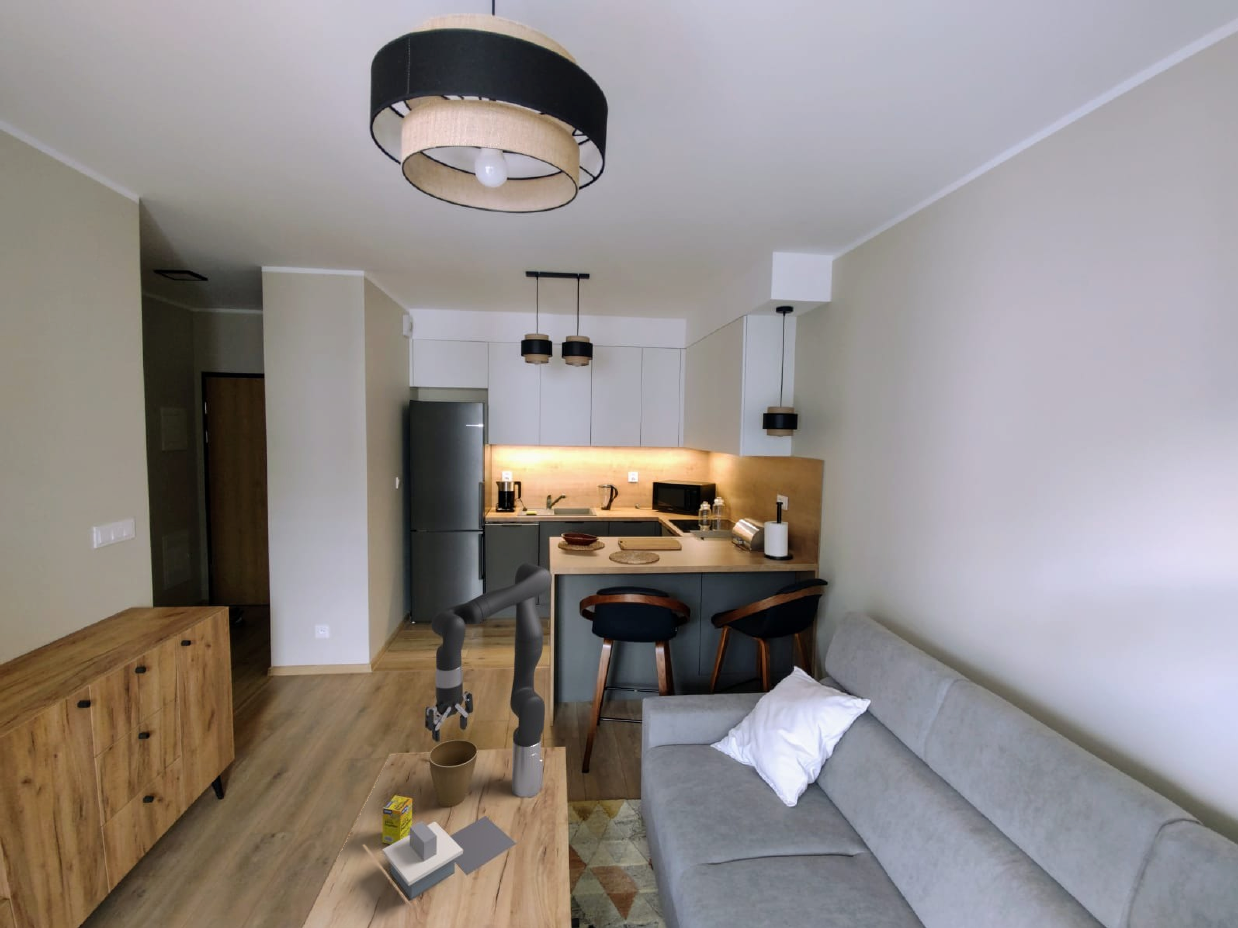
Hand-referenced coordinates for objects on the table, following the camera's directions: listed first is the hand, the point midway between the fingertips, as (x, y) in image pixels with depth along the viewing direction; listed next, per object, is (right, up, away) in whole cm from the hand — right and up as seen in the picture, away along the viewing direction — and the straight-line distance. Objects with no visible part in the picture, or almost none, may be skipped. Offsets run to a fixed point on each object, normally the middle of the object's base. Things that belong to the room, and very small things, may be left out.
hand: (450, 734), depth 159 cm
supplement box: (-15, -30, -2) cm, 33 cm away
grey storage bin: (-3, -30, -14) cm, 34 cm away
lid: (-3, -25, -14) cm, 28 cm away
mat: (+9, -30, -3) cm, 32 cm away
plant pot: (-4, -29, +16) cm, 33 cm away
